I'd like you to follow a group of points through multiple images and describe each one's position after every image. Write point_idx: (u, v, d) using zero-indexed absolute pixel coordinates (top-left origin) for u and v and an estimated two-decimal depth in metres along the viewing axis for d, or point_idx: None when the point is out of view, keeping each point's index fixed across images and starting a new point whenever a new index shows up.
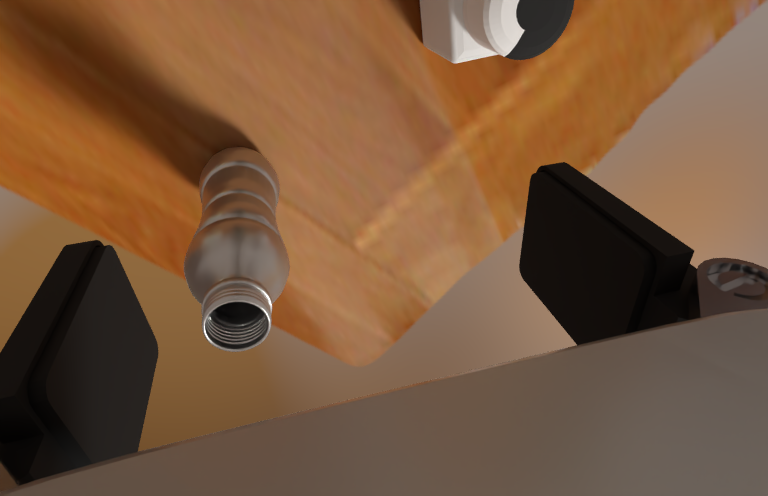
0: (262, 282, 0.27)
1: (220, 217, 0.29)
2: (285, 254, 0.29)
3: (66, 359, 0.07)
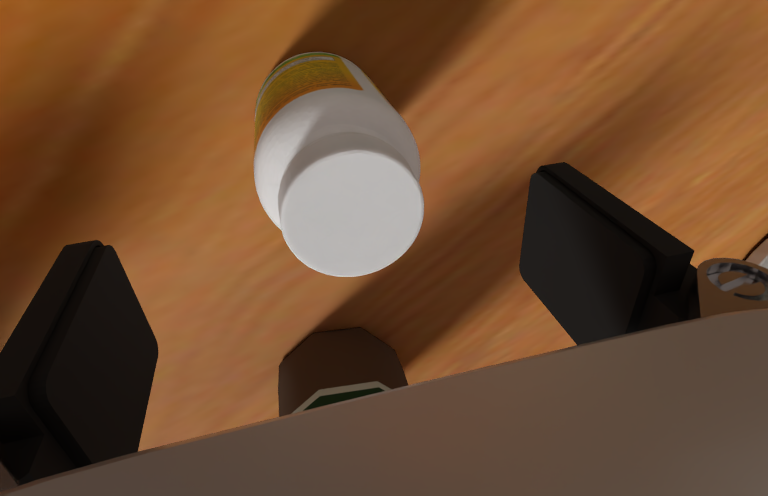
0: None
1: None
2: None
3: (67, 359, 0.07)
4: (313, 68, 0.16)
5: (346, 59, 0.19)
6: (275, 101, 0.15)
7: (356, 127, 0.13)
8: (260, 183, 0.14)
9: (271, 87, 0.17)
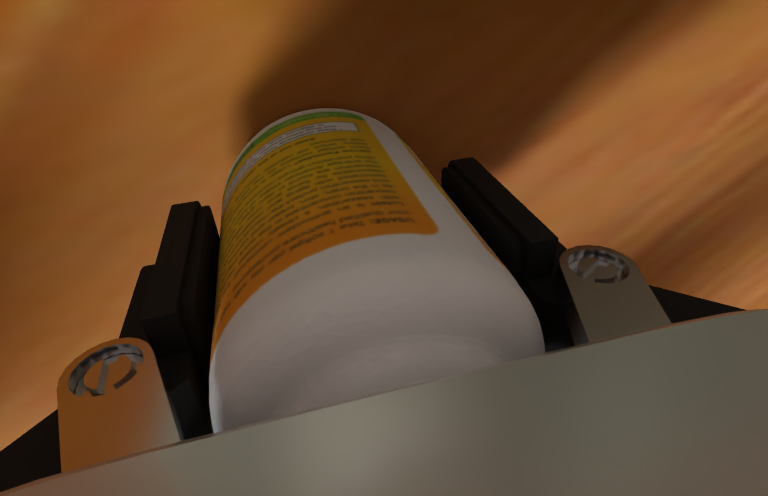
0: None
1: None
2: None
3: (200, 292, 0.08)
4: (325, 158, 0.09)
5: (373, 119, 0.11)
6: (252, 242, 0.07)
7: (438, 338, 0.06)
8: None
9: (246, 188, 0.09)
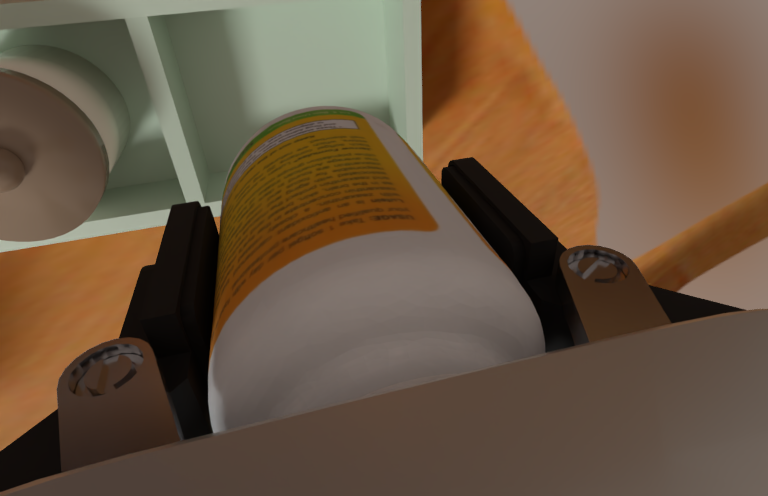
0: None
1: None
2: None
3: (200, 292, 0.08)
4: (324, 155, 0.09)
5: (373, 117, 0.11)
6: (252, 239, 0.07)
7: (439, 335, 0.06)
8: None
9: (246, 186, 0.09)
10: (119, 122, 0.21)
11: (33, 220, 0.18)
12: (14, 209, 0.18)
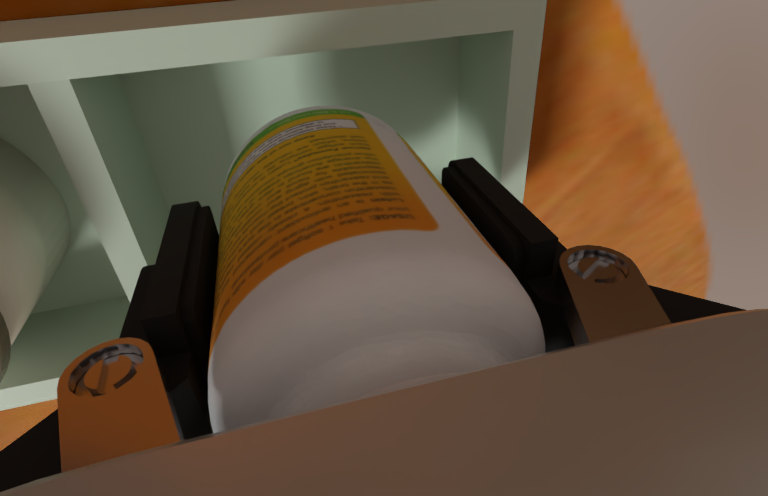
0: None
1: None
2: None
3: (200, 292, 0.08)
4: (324, 154, 0.09)
5: (373, 117, 0.11)
6: (251, 239, 0.07)
7: (439, 335, 0.06)
8: None
9: (246, 185, 0.09)
10: (44, 235, 0.13)
11: None
12: None
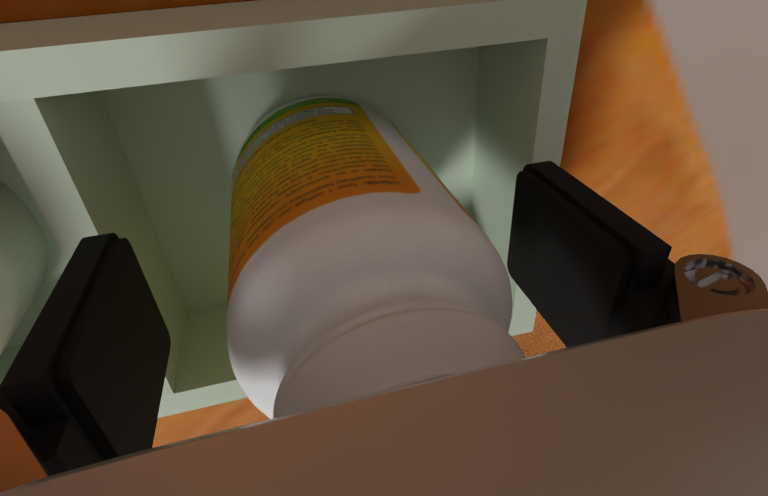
0: None
1: None
2: None
3: (88, 346, 0.07)
4: (324, 135, 0.10)
5: (368, 105, 0.13)
6: (263, 204, 0.09)
7: (418, 274, 0.07)
8: (238, 366, 0.08)
9: (255, 163, 0.10)
10: (15, 267, 0.12)
11: None
12: None
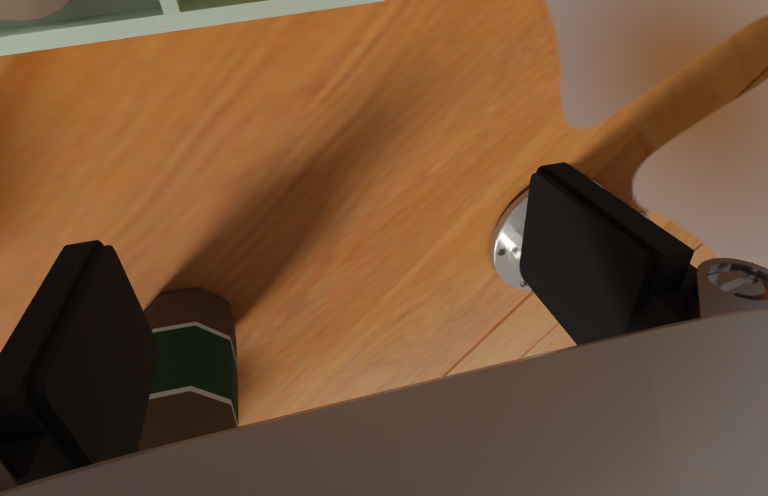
0: None
1: None
2: None
3: (66, 359, 0.07)
4: None
5: None
6: None
7: None
8: None
9: None
10: None
11: None
12: None
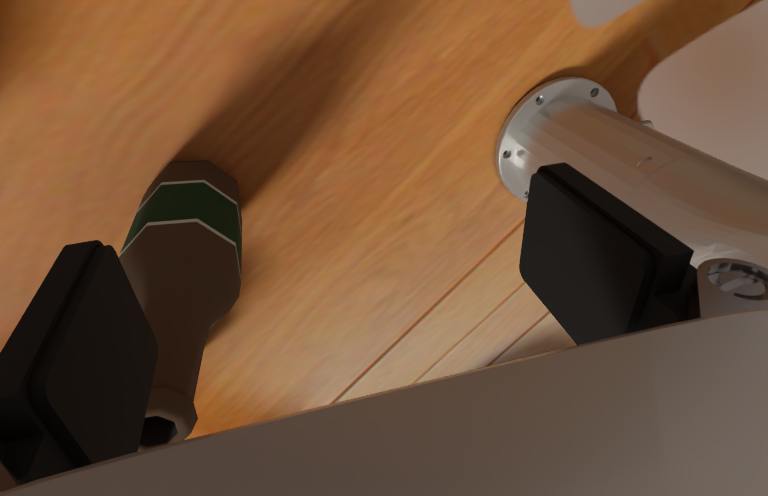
0: None
1: None
2: None
3: (67, 359, 0.07)
4: None
5: None
6: None
7: None
8: None
9: None
10: None
11: None
12: None
